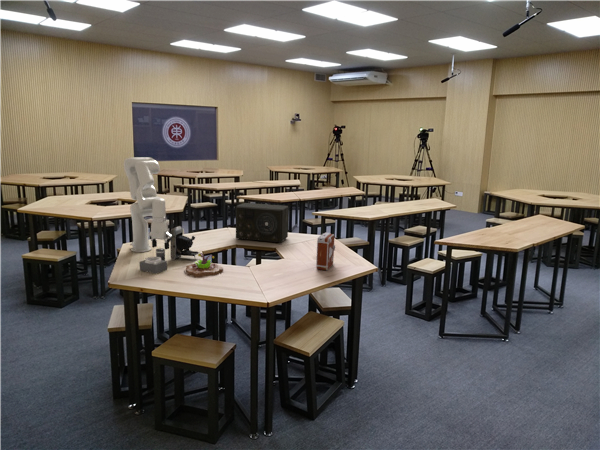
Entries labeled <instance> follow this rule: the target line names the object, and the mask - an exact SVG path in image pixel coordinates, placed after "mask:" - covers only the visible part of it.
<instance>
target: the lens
mask: <svg viewBox="0 0 600 450" xmlns="http://www.w3.org/2000/svg"><path fill="white" fill-rule="evenodd" d="M165 253H166V249H165V248H164V247H163V248H156V249H155V257H161V260H164V261H166V254H165Z"/></svg>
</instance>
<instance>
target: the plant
mask: <svg viewBox="0 0 600 450" xmlns="http://www.w3.org/2000/svg"><path fill="white" fill-rule="evenodd" d="M197 256H198V257H200V258H202V259H199V260H197V261H195V262H194V263H191V264H189V265H187V266H186V267H185V273H186V274H187V275H188V276H192V277H195V278H200V277H201V278H202V277H209V276H216V275H219V274H222V273H224V267H223V266H221V265H219V264H218V263H213V262H211V261H212V260H211V259H209V258H210V257H211V258H212V259H215V256H214V255H212V254H210V255H207V257H205V255H204V253H203V252H200V253H198V254H197Z"/></svg>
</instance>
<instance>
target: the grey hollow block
mask: <svg viewBox="0 0 600 450" xmlns="http://www.w3.org/2000/svg"><path fill="white" fill-rule="evenodd" d="M138 265H139V271H141V272H147V273H150V272H151V273H152V274H155V275H156V273H157V274H159V273H163V272H164V271H167V270H168V261H167V260H165V261H164V260H161V257H156V256H149V257H146V258H145V259H143V260H141V261H139V264H138ZM151 273H150V274H151Z"/></svg>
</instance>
